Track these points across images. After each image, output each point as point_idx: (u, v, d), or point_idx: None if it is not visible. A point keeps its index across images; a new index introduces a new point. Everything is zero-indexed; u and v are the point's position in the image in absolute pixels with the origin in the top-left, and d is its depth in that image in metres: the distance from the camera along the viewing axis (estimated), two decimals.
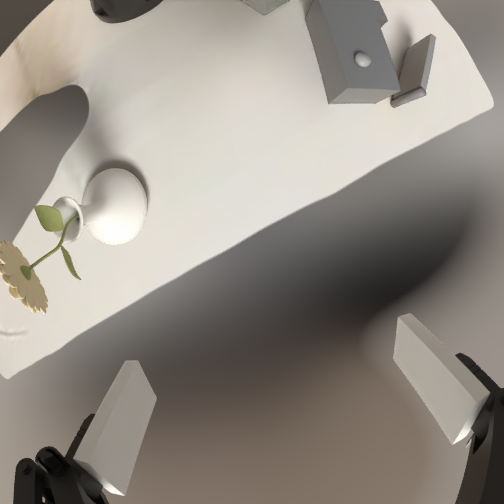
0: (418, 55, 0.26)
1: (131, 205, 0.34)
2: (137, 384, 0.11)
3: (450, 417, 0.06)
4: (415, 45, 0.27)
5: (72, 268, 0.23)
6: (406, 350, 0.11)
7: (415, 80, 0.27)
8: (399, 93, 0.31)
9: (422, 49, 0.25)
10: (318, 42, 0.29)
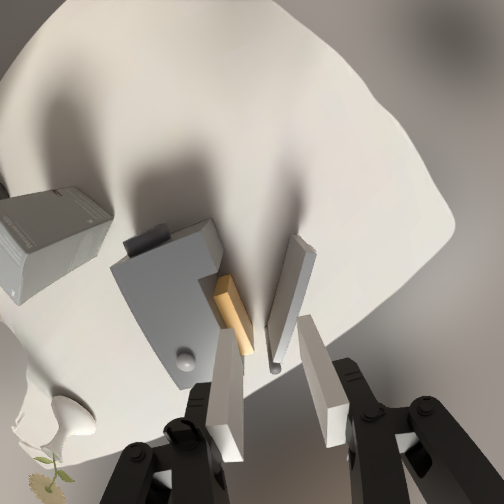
0: (288, 284, 0.27)
1: (83, 424, 0.36)
2: (235, 350, 0.13)
3: (322, 419, 0.09)
4: (294, 245, 0.28)
5: (67, 479, 0.26)
6: (302, 349, 0.13)
7: (275, 339, 0.28)
8: (269, 329, 0.32)
9: (293, 278, 0.26)
10: None
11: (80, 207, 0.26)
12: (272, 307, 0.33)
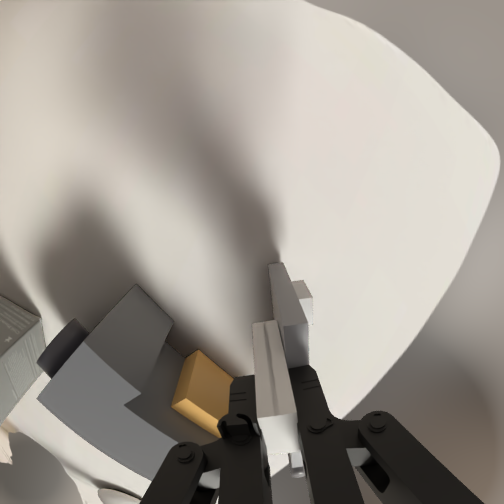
0: None
1: None
2: None
3: None
4: (273, 291, 0.15)
5: None
6: None
7: None
8: None
9: None
10: None
11: None
12: None
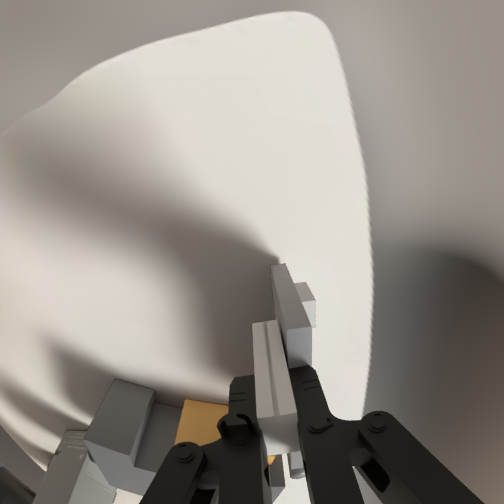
0: None
1: None
2: None
3: None
4: (275, 293, 0.15)
5: None
6: None
7: None
8: None
9: None
10: None
11: (72, 449, 0.21)
12: None
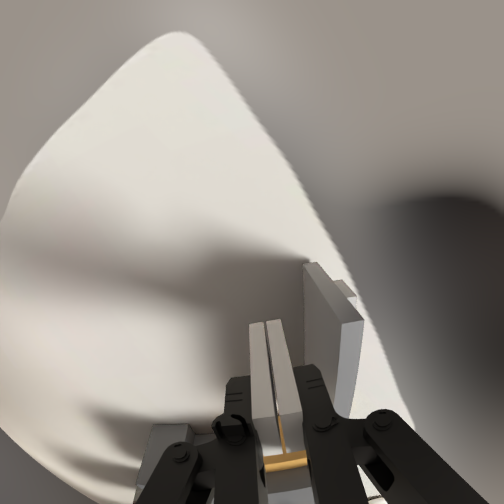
0: (321, 363, 0.14)
1: None
2: (266, 344, 0.13)
3: None
4: (314, 290, 0.15)
5: None
6: None
7: None
8: None
9: (326, 358, 0.13)
10: None
11: None
12: None
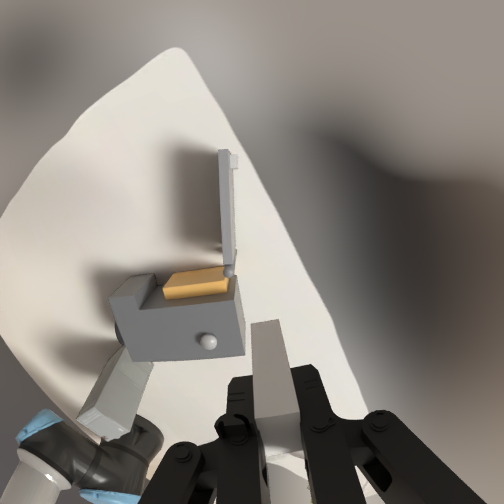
0: None
1: None
2: None
3: None
4: None
5: None
6: None
7: None
8: None
9: None
10: None
11: (111, 362, 0.38)
12: None
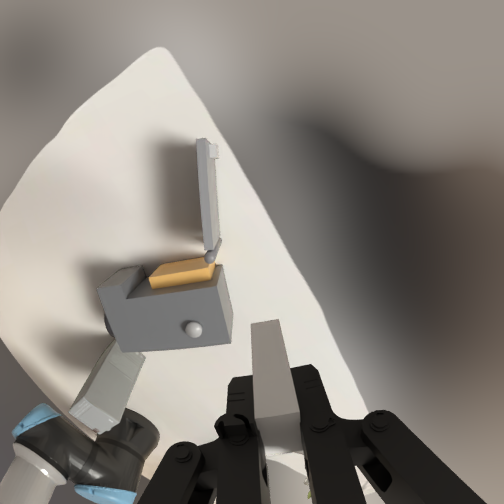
0: None
1: None
2: None
3: None
4: None
5: None
6: None
7: None
8: None
9: None
10: None
11: (103, 355, 0.38)
12: None
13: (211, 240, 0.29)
